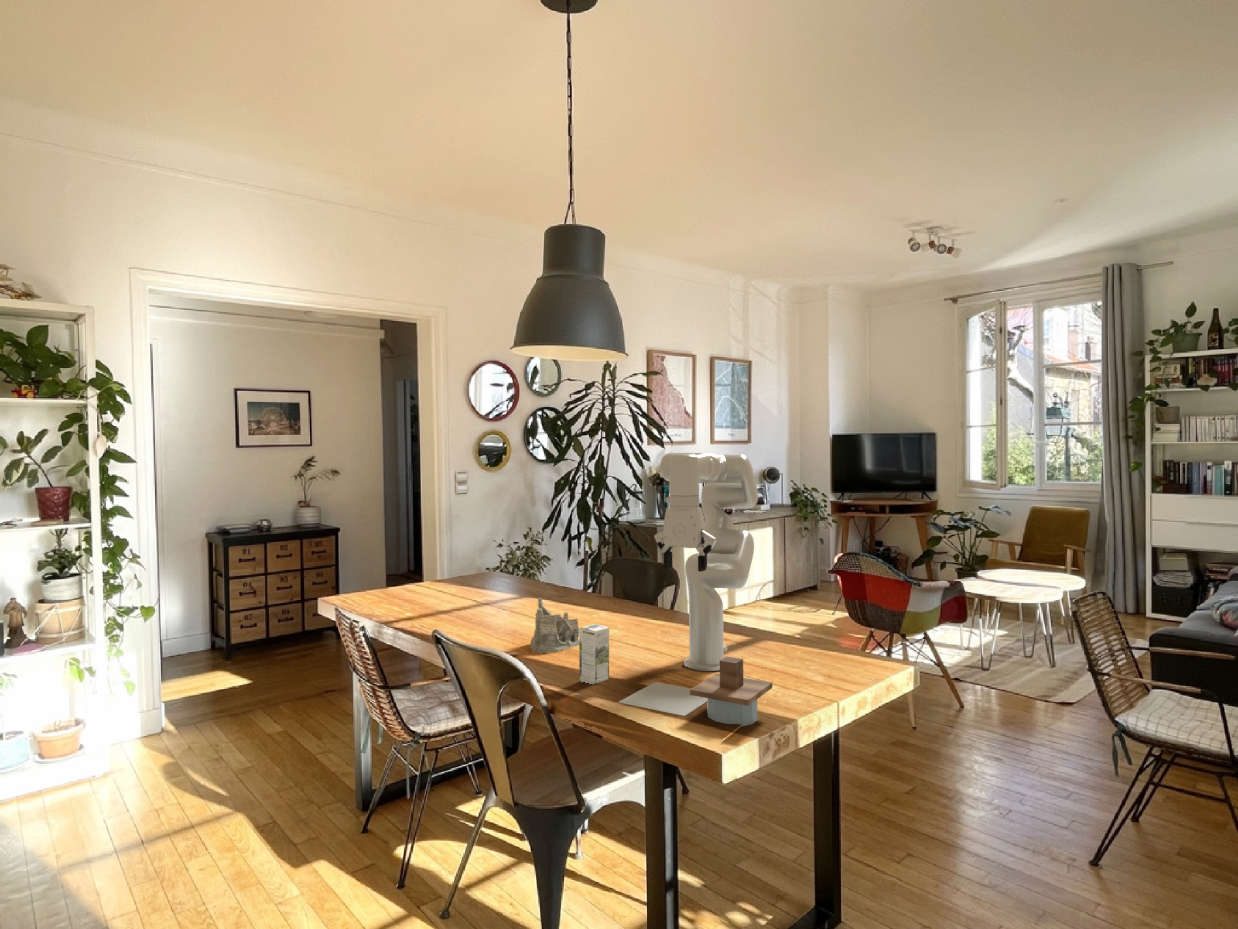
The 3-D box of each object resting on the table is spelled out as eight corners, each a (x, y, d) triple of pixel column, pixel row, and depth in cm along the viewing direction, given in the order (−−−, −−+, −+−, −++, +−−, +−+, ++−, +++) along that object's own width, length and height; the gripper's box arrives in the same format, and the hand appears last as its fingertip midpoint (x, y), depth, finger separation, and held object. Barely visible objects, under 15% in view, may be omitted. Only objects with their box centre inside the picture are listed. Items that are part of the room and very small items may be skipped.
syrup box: (593, 676, 202) (592, 623, 202) (610, 680, 199) (609, 626, 198) (579, 682, 198) (578, 627, 198) (595, 686, 194) (595, 630, 194)
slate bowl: (720, 706, 178) (720, 681, 178) (764, 714, 172) (764, 688, 172) (699, 720, 169) (699, 694, 169) (745, 730, 163) (744, 702, 163)
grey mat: (655, 684, 195) (655, 682, 195) (718, 696, 186) (718, 693, 186) (617, 704, 180) (617, 702, 180) (684, 718, 170) (684, 715, 170)
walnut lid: (716, 678, 180) (716, 648, 180) (772, 687, 173) (772, 656, 172) (689, 694, 168) (689, 663, 168) (748, 705, 161) (748, 672, 161)
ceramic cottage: (527, 653, 226) (529, 603, 226) (532, 641, 243) (534, 594, 243) (578, 655, 226) (581, 605, 227) (580, 643, 243) (582, 597, 243)
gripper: (647, 502, 193) (648, 568, 193) (708, 504, 184) (709, 574, 184) (661, 500, 199) (662, 564, 200) (721, 502, 190) (722, 569, 190)
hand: (685, 569), depth 192 cm, fingers open, 9 cm apart
